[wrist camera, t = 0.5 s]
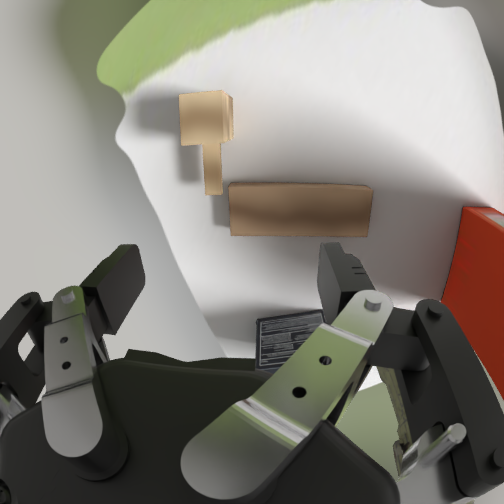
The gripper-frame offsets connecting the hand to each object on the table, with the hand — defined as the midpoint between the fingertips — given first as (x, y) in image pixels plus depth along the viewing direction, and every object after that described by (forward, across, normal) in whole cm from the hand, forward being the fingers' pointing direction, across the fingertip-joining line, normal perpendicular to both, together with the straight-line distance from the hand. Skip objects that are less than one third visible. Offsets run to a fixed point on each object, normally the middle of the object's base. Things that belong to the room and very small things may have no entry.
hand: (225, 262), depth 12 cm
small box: (+23, -6, +25) cm, 34 cm away
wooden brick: (+23, +4, -3) cm, 24 cm away
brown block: (+23, -6, +5) cm, 24 cm away
